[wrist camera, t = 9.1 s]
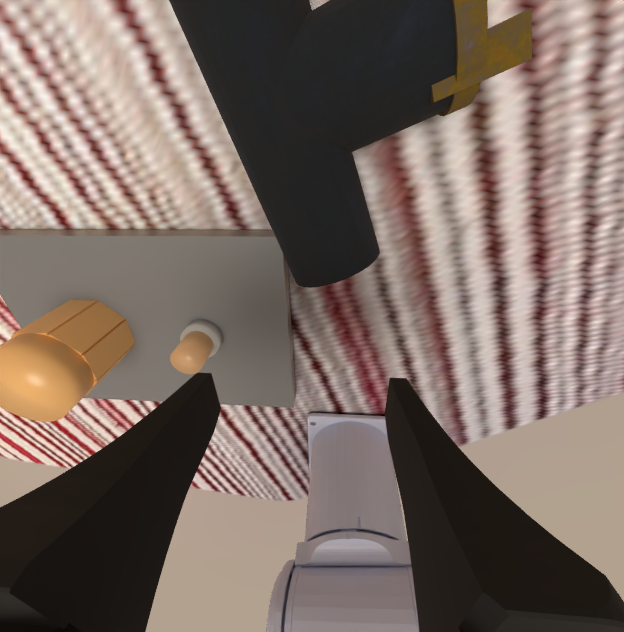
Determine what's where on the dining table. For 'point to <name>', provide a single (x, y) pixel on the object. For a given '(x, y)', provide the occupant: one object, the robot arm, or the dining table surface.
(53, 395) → the wire cap
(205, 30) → the pipe connector
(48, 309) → the board
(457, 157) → the dining table surface
